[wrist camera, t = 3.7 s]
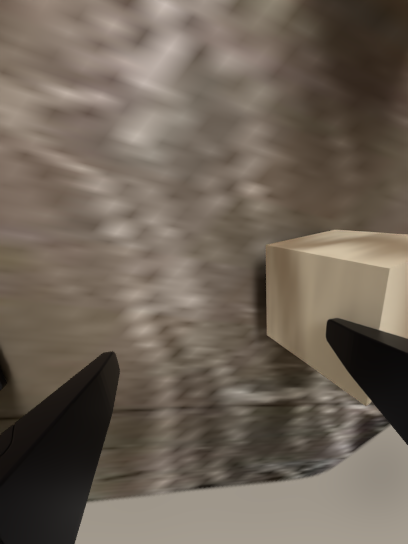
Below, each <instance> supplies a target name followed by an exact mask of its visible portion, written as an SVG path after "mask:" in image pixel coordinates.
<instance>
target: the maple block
mask: <svg viewBox="0 0 408 544" xmlns="http://www.w3.org/2000/svg"><path fill="white" fill-rule="evenodd" d="M266 305H267V335H268V336H269V337H270V338H272V339H273V340H275V341H276V342H277V343H279V344H280V345H282V346H283V347H284V348H286V349H287V350H288V351H290V352H291V353H293V354H294V355H295V356H297V357H298V358H300V359H301V360H302V361H304V362H305V363H307V364H308V365H309V366H311V367H312V368H313V369H315V370H316V371H318V372H319V373H320V374H322V375H323V376H325V377H326V378H327V379H329V380H330V381H332V382H333V383H334V384H336V385H337V386H339V387H340V388H341V389H343V390H344V391H345V392H347V393H348V394H350V395H351V396H352V397H354V398H355V399H357V400H358V401H359V402H361V403H362V404H364V405H365V406H367V405H368V404H369V403H371V402H372V401H371V400H370V399H369V397H368V396H367V395H366V394H365V392H364V391H363V390H362V389H361V388H360V386H359V385H358V384H357V383H356V381H355V380H354V379H353V378H352V376H351V375H350V374H349V373H348V371H347V370H346V368H345V367H344V366H343V364H342V363H341V361H340V360H339V358H338V357H337V355H336V354H335V352H334V351H333V349H332V348H331V346H330V345H329V343H328V342H327V340H326V325H327V321H328V320H329V319H333V318H340V319H344V320H347V321H350V322H354V323H357V324H360V325H364V326H367V327H371V328H374V329H377V330H381V331H384V332H387V333H391V334H394V335H397V336H401V337H404V338H407V339H408V235H405V234H391V233H377V232H363V231H349V230H331V231H327V232H322V233H318V234H313V235H309V236H304V237H299V238H295V239H290V240H286V241H281V242H277V243H272V244H267V245H266Z"/></svg>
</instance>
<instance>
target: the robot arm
mask: <svg viewBox="0 0 408 544" xmlns="http://www.w3.org/2000/svg"><path fill="white" fill-rule="evenodd" d="M326 340H327V342H328V343H329V345H330V346H331V348H332V349H333V351H334V352H335V354H336V355H337V357H338V358H339V360H340V361H341V363H342V364H343V366H344V367H345V368H346V370H347V371H348V373H349V374H350V375H351V376H352V378H353V379H354V380H355V381H356V383H357V384H358V385H359V386H360V388H361V389H362V390H363V391H364V392H365V394H366V395H367V396H368V397H369V399H370V400H371V401H372V402H373V403H374V405H375V406H376V407H377V408H378V410H379V411H380V412H381V413H382V414H383V416H384V417H385V418H386V419H387V420H388V422H389V423H390V424H391V425H392V427H393V428H394V429H395V430H396V431H397V433H398V434H399V435H400V436H401V438H402V439H403V440H404V441H405V442H406V444H407V445H408V339H407V338H404V337H401V336H397V335H394V334H391V333H387V332H384V331H381V330H377V329H374V328H371V327H367V326H364V325H360V324H357V323H354V322H350V321H347V320H344V319H340V318H333V319H329V320H328V321H327V325H326ZM119 374H120V369H119V365H118V361H117V357H116V354H115V352H113V351H112V352H105V353H102V354H101V355H100V356H99V357H97V358H96V359H95V360H94V361H92V362H91V363H90V364H89V365H87V366H86V367H85V368H84V369H82V370H81V371H80V372H79V373H77V374H76V375H75V376H73V377H72V378H71V379H70V380H68V381H67V382H66V383H65V384H63V385H62V386H61V387H60V388H58V389H57V390H56V391H55V392H53V393H52V394H51V395H50V396H48V397H47V398H46V399H45V400H43V401H42V402H41V403H40V404H38V405H37V406H36V407H35V408H33V409H32V410H31V411H30V412H28V413H27V414H26V415H24V416H23V417H22V418H21V419H19V420H18V421H17V422H16V423H15V424H14V425H12V426H11V427H9V428H8V429H7V430H6V431H4V432H3V433H2V434H1V435H0V544H75V540H76V537H77V533H78V530H79V526H80V523H81V520H82V516H83V513H84V509H85V506H86V502H87V499H88V496H89V492H90V489H91V485H92V482H93V478H94V475H95V471H96V468H97V465H98V461H99V458H100V454H101V451H102V447H103V444H104V441H105V437H106V434H107V430H108V427H109V423H110V420H111V416H112V412H113V407H114V402H115V396H116V391H117V385H118V380H119ZM6 383H7V382H6V379H5V377H4V375H3V373H2V371H1V369H0V390H1V389H2V388H3V387H4V386H5V385H6Z"/></svg>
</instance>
